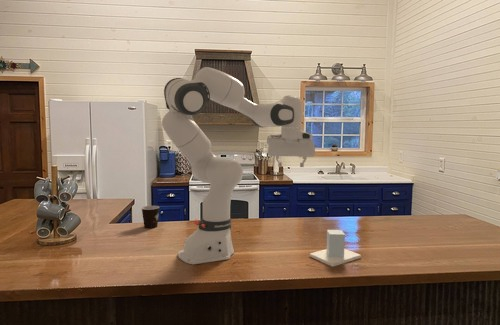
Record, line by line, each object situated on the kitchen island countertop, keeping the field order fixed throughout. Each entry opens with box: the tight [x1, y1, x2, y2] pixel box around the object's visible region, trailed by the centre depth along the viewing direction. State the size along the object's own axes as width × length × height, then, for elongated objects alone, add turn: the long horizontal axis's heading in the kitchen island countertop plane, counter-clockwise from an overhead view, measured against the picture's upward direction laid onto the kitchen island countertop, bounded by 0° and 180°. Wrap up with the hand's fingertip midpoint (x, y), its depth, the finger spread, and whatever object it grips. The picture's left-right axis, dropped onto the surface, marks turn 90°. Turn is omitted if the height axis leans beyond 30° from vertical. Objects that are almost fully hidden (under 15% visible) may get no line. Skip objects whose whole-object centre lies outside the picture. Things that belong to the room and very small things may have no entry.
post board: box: [309, 248, 362, 267], centre depth 134 cm, size 16×12×8 cm
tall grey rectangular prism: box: [326, 229, 346, 257], centre depth 134 cm, size 6×6×9 cm
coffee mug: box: [141, 205, 160, 230], centre depth 175 cm, size 12×9×10 cm
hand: (290, 166), depth 147 cm, fingers open, 8 cm apart
